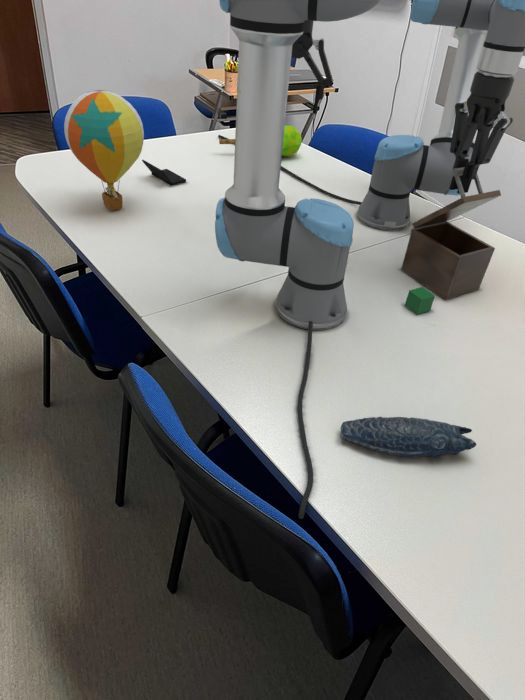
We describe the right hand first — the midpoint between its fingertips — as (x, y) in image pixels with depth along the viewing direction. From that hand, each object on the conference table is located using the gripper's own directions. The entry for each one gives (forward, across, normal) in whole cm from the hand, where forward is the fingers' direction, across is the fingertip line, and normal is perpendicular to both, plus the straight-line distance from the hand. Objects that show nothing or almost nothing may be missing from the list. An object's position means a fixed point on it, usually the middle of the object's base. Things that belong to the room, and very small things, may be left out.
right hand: (458, 190), depth 116 cm
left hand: (-7, +46, +16) cm, 49 cm away
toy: (+21, +65, +60) cm, 91 cm away
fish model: (+22, -39, +46) cm, 64 cm away
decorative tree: (+21, +90, -3) cm, 92 cm away
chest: (+22, -2, 0) cm, 22 cm away
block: (+22, -10, +14) cm, 28 cm away
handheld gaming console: (+21, +80, +38) cm, 91 cm away
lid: (+5, -1, 0) cm, 5 cm away
